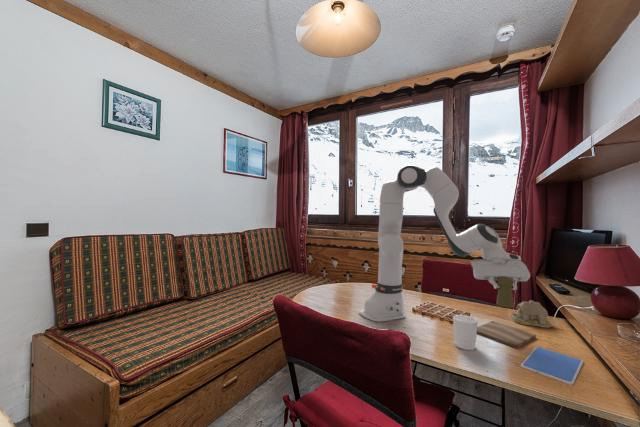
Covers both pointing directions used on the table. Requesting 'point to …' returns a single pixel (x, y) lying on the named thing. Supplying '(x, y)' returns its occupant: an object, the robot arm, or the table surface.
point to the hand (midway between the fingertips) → (505, 288)
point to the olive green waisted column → (505, 293)
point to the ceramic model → (531, 314)
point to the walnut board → (505, 334)
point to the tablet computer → (553, 365)
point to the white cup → (465, 331)
